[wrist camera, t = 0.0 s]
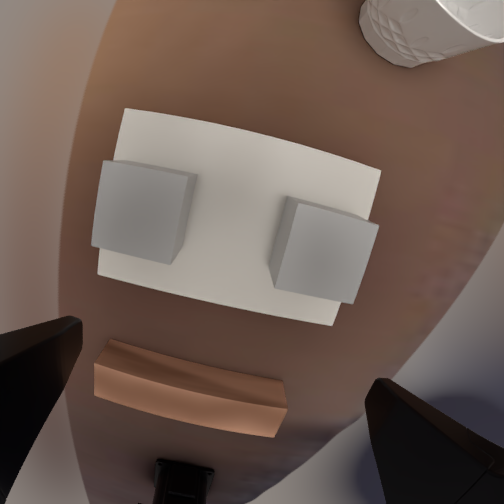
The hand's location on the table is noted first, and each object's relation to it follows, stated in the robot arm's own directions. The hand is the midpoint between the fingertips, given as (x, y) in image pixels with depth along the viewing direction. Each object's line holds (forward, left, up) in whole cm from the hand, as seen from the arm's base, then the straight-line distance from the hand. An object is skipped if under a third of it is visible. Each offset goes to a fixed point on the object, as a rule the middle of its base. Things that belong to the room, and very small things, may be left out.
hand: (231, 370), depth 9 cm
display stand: (+2, 0, -15) cm, 15 cm away
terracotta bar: (-12, +1, -15) cm, 19 cm away
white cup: (+20, -8, -15) cm, 26 cm away
